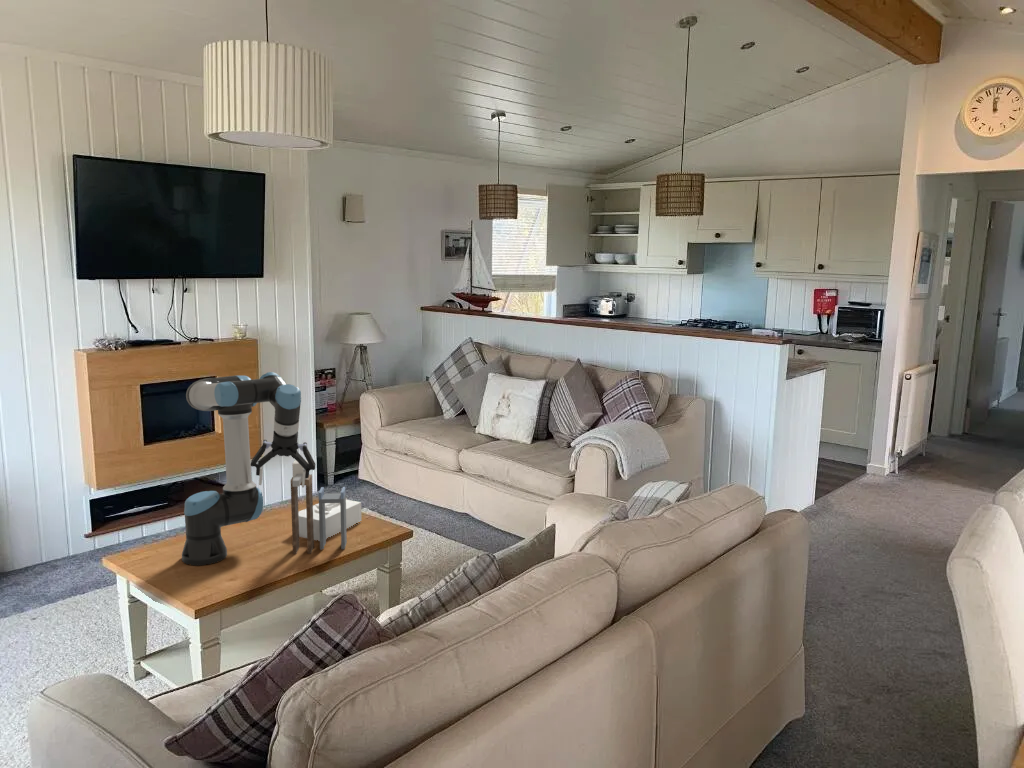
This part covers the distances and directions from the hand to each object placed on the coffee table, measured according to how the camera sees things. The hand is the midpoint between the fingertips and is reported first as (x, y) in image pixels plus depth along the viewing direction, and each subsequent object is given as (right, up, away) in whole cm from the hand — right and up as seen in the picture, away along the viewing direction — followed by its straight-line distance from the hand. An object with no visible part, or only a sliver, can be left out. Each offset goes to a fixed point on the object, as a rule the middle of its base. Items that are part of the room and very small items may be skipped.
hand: (282, 483), depth 255 cm
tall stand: (-1, -29, +30) cm, 42 cm away
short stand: (+9, -28, +35) cm, 46 cm away
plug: (0, -2, +21) cm, 21 cm away
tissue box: (+2, -25, +54) cm, 59 cm away
